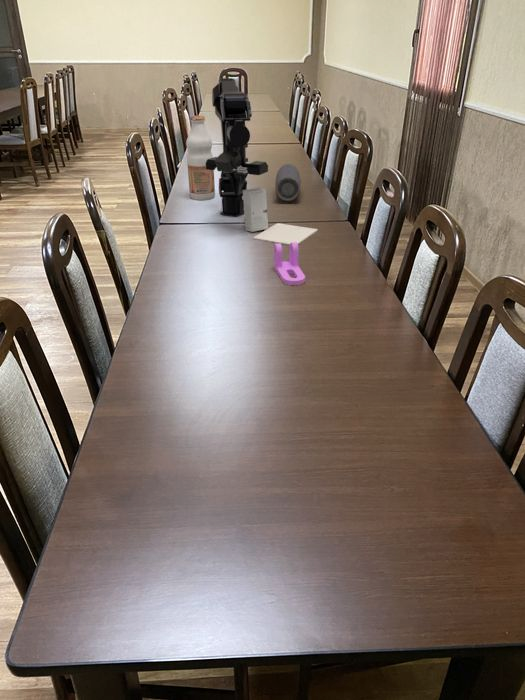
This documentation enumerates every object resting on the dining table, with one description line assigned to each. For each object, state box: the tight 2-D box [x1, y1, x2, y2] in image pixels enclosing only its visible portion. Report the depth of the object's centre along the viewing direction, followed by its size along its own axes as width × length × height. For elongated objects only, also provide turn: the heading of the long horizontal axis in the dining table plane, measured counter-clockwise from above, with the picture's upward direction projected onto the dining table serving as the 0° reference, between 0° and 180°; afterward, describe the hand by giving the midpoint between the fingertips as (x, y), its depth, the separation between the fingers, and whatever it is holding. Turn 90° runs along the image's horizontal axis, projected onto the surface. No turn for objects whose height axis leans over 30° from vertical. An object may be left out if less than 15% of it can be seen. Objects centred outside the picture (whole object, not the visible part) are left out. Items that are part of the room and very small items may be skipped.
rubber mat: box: [252, 223, 319, 246], centre depth 162 cm, size 14×16×1 cm
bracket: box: [273, 242, 306, 286], centre depth 133 cm, size 13×6×7 cm, turn 11°
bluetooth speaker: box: [275, 163, 302, 202], centre depth 199 cm, size 23×9×10 cm, turn 178°
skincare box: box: [242, 187, 269, 233], centre depth 164 cm, size 6×4×12 cm
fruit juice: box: [185, 115, 216, 201], centre depth 193 cm, size 9×9×28 cm
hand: (237, 194), depth 164 cm, fingers closed
